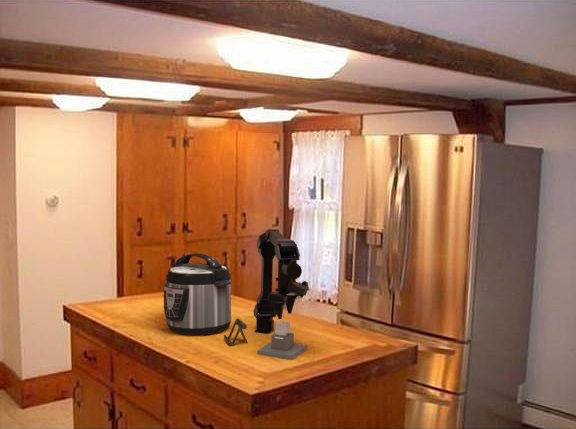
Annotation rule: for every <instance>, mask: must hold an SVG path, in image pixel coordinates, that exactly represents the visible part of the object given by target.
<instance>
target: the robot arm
mask: <svg viewBox="0 0 576 429" xmlns="http://www.w3.org/2000/svg"><path fill="white" fill-rule="evenodd" d="M256 248H257V252H258V254H259V256H260V257H261V273H260V274H261V275H260V276H261V277H260V293H259V295H258V297H257V298H256V303H255V304H254V308H253V317H254V318H255V320H256V321H255V322H256V324H255V327H256V329H255V330H254V332H255V333H262V334H270V333H272V332H274V331H275V320H274V318H276V317H277V319H278V320H282V319H283V314H284V313H283V311H284V306H285V308H286V310H287V314H289V315H291V314H292V311H293V308H294V305H295V302H296V299H297V298H299V297H300V298H304V297H305V296H307V293H308V292H309V291H310V286H309V282H308V281H305V280H303V281H302V282H300V281H299V282H298V281H297V279H299V278H300V277H301V276H302V272H303V269H302V266H301V265H300V264H298V263H297V262H298V261H300V257H301V255H300V249H299V248H298V244H297V243H296V241H295V240H293V239H290V238H289V239H288V238H286V237H285V236H284V235H283V234H281V233H280V230H279V229H278V228H268V229H266V230H265V232H263V233H262V234H260V235H259V236H258V238H257V240H256ZM275 257H276V258H277V277H275V281H277V287H276V288H275V291H273V270H274V269H273V268H274V265H273V263H274V259H275Z"/></svg>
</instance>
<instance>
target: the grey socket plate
mask: <svg viewBox="0 0 576 429" xmlns="http://www.w3.org/2000/svg"><path fill="white" fill-rule="evenodd" d="M270 337H271V338H270V342H269V343H266V344H265V345H263V346H262V347H260V348H259V349H257V350H256V354H257V355H261V356H266V357H273V358H279V359H286V360H291V361H293V360H294V359H296V358H297V357H298V356H299V355H301V354H302V353H304V352H305V351H306V350H307V349H308V345H307V344H303V343H302V344H300V343H295V341H294V340H295V333H293V332H290V335H288V336H287V337H283V336H276V332H274V333H273V334H272V335H271V336H270Z"/></svg>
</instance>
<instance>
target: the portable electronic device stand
mask: <svg viewBox="0 0 576 429" xmlns="http://www.w3.org/2000/svg"><path fill="white" fill-rule="evenodd" d="M236 327H238V329H237V331H236V333H235V336H234V338H233V340H231V337H232V335H233V333H234V330H235V328H236ZM247 328H248V326H247V324H246V323H245V322H244V321H243V320H241V319H240V318H236V319H235V321H234V323H233V325H232V328H231V329H230V332H229V334H228V335H227V336H226V334H224V335H223V339H224V341H225V342H226V343H227V344H228V345H229V346H231V347H233V346H235V344H236V341H237V339H238V336H239V335H241V336H242V339H243V341H245V344H246V343H248V340H247V338H246V335H245V333H244V331H243V330H246V329H247Z"/></svg>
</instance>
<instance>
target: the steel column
mask: <svg viewBox="0 0 576 429" xmlns="http://www.w3.org/2000/svg"><path fill="white" fill-rule="evenodd" d="M275 333H276V336H283V337H287V336H288V335H290V333H291V322H290V321H285V320H279V321H277V322H276V323H275Z"/></svg>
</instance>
